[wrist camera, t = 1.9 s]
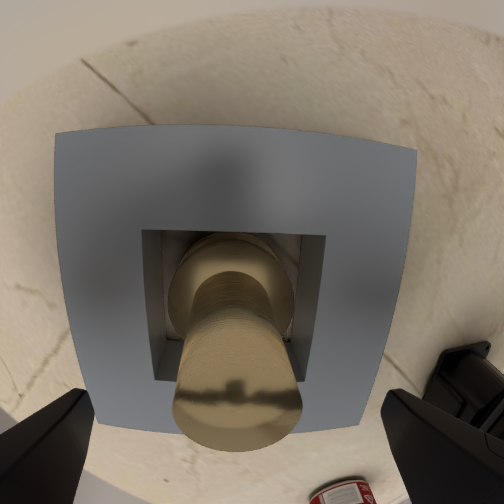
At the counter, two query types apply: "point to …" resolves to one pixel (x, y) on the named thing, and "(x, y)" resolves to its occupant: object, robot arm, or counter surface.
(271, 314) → the stepped shaft
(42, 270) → the counter surface
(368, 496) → the soda can
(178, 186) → the housing
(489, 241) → the counter surface
